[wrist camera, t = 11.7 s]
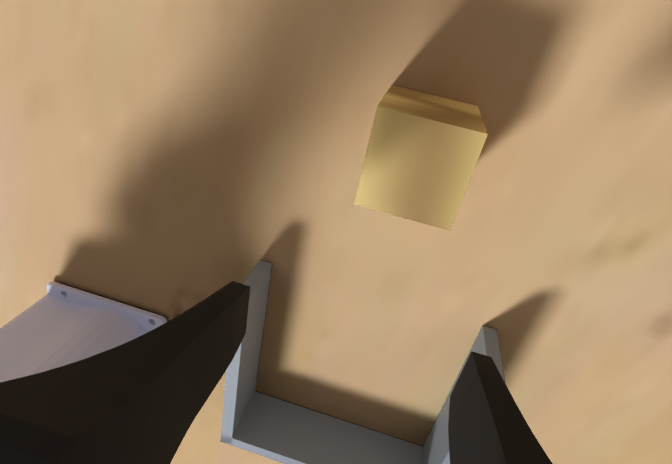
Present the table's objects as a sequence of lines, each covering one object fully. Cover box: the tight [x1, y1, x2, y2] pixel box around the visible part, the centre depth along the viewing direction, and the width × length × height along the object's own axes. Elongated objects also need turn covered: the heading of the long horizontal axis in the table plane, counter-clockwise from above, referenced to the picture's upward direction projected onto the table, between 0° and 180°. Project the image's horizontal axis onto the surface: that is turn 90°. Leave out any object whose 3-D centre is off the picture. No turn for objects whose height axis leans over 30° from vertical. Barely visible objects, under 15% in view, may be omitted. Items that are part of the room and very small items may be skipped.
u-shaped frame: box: [221, 260, 505, 464], centre depth 26 cm, size 15×13×4 cm
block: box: [354, 85, 488, 231], centre depth 18 cm, size 4×4×5 cm
